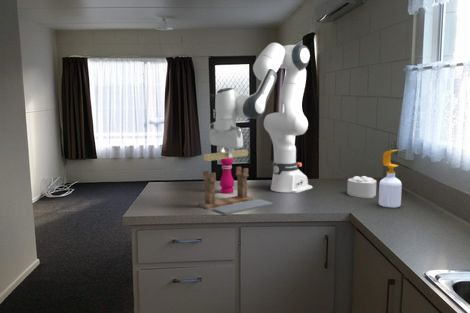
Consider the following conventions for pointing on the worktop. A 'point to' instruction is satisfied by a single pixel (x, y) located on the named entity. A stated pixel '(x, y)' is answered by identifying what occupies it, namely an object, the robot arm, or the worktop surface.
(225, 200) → the stand
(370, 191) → the lumpy-topped squat cylinder
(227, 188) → the pepper mill
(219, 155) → the brass rail
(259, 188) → the worktop surface
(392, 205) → the soap bottle
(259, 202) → the slate mat
